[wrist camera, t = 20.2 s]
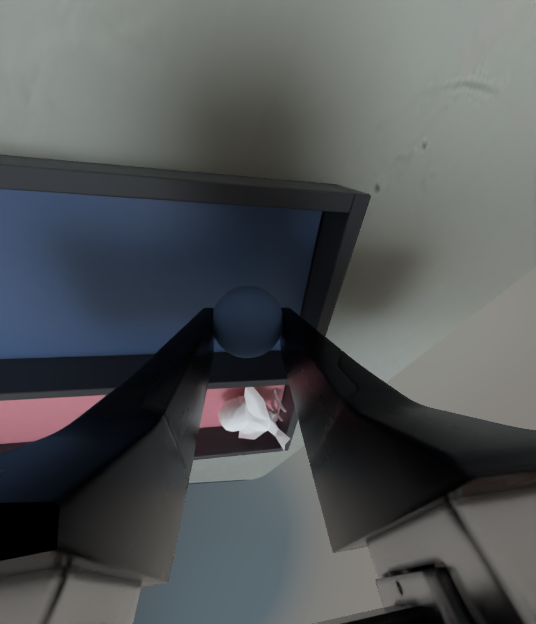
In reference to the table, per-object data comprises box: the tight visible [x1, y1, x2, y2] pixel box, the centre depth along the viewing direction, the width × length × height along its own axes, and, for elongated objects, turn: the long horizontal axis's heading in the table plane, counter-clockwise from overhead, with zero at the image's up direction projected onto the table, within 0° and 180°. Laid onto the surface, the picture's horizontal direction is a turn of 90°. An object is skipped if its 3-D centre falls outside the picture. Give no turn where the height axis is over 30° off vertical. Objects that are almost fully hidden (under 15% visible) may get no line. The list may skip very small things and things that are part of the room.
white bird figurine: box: [218, 387, 290, 452], centre depth 15 cm, size 8×5×5 cm, turn 172°
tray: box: [0, 155, 371, 460], centre depth 12 cm, size 32×20×3 cm, turn 85°
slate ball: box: [212, 286, 283, 358], centre depth 9 cm, size 3×3×3 cm
